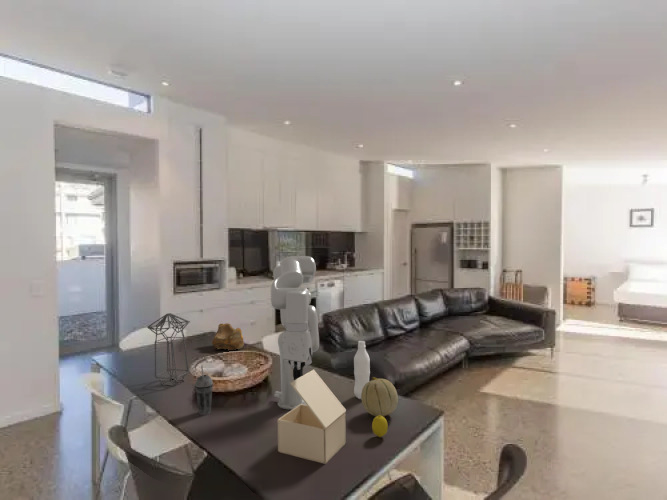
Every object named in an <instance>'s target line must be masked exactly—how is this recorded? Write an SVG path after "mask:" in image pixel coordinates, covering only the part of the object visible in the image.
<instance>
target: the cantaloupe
mask: <svg viewBox="0 0 667 500" xmlns="http://www.w3.org/2000/svg"><path fill="white" fill-rule="evenodd" d="M398 395H399V394H398V392H397V389H396V387H395V386H394V384H393V383H392V382H391V381H389V380H388V379H385V378H377V377H375V376H372V377H371V380H369V382H367V383H366V384H365V386H364V387H363V389H362V394H361V399H360V400H361V402H362V405H363V408H364V409H365V411H366V412H368V414H369V415H371V416H374V417H376V416H379V415H381V416H383V417H385V416H388V415H390V414H392V413H393V412H394V411H395V410H396V409H397V406H398V402H399V398H398V397H399V396H398Z"/></svg>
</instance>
